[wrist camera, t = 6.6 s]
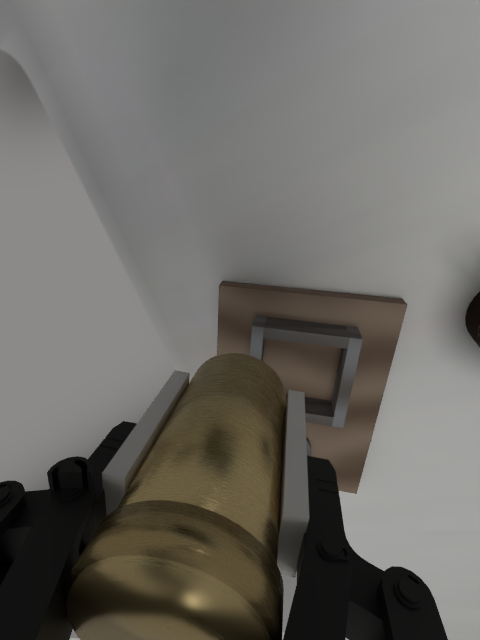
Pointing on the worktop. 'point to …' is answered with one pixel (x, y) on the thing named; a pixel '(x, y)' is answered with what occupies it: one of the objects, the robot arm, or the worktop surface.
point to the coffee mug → (474, 319)
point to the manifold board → (319, 359)
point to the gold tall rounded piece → (195, 521)
